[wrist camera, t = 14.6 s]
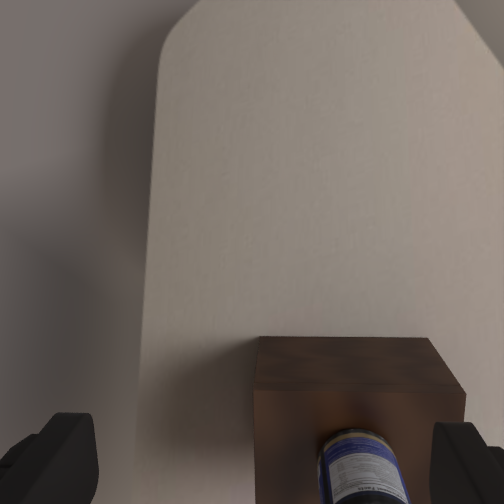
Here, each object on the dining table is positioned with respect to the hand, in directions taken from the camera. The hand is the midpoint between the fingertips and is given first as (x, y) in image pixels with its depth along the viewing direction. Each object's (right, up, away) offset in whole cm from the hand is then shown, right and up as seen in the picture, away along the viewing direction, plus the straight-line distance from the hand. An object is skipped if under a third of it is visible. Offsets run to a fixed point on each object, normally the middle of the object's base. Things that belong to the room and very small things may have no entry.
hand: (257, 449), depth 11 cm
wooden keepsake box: (+9, -9, +36) cm, 38 cm away
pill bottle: (+8, -12, +26) cm, 30 cm away
